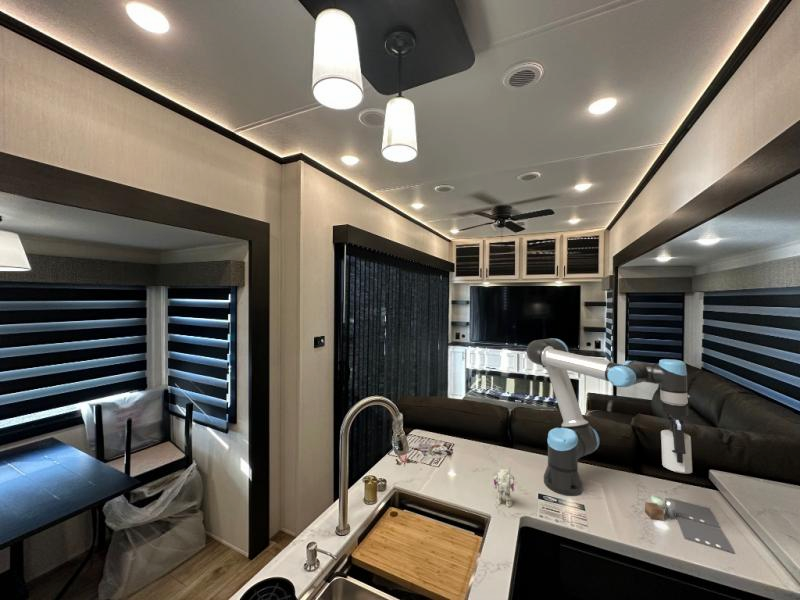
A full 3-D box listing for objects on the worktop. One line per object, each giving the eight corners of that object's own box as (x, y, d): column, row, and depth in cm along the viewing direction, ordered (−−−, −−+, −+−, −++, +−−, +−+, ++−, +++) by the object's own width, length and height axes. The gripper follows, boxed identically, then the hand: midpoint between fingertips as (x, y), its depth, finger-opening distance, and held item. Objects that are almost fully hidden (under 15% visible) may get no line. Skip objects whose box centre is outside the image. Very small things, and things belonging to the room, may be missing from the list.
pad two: (676, 516, 117) (676, 514, 117) (669, 498, 127) (669, 497, 127) (720, 528, 111) (720, 527, 111) (709, 509, 121) (709, 507, 121)
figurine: (518, 507, 122) (518, 469, 122) (503, 513, 119) (503, 474, 119) (503, 495, 129) (503, 459, 129) (489, 501, 126) (489, 464, 126)
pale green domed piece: (656, 509, 121) (656, 501, 121) (648, 502, 125) (648, 495, 125) (666, 510, 121) (667, 502, 121) (658, 503, 125) (658, 495, 125)
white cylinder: (698, 474, 108) (696, 439, 108) (671, 472, 110) (669, 438, 110) (682, 463, 116) (680, 430, 116) (657, 461, 118) (656, 429, 118)
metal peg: (665, 517, 116) (665, 501, 116) (663, 512, 119) (663, 497, 119) (676, 520, 115) (676, 504, 115) (674, 515, 117) (674, 499, 117)
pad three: (684, 538, 106) (684, 537, 106) (676, 517, 116) (676, 516, 116) (734, 553, 100) (734, 552, 100) (721, 530, 110) (721, 528, 110)
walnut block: (651, 519, 115) (651, 509, 115) (645, 512, 119) (645, 502, 119) (663, 521, 114) (663, 510, 114) (657, 513, 118) (657, 503, 118)
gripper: (695, 412, 103) (698, 482, 102) (681, 396, 120) (683, 456, 120) (666, 409, 107) (669, 476, 106) (656, 394, 124) (658, 451, 124)
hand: (676, 465), depth 113 cm, fingers closed on white cylinder, 8 cm apart
